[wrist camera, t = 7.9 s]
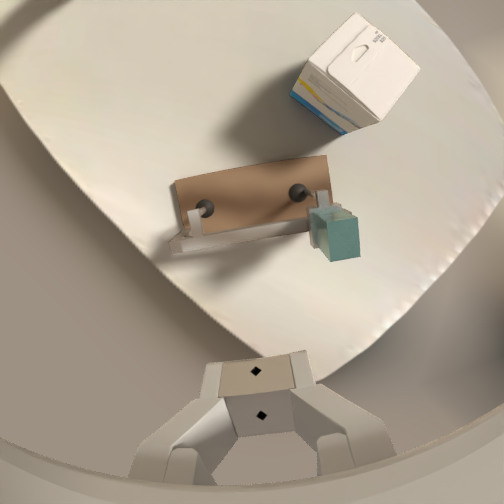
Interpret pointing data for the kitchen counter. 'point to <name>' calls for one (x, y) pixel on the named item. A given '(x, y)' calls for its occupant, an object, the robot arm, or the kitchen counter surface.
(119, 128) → the kitchen counter surface
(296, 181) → the board
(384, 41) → the ink box
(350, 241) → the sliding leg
